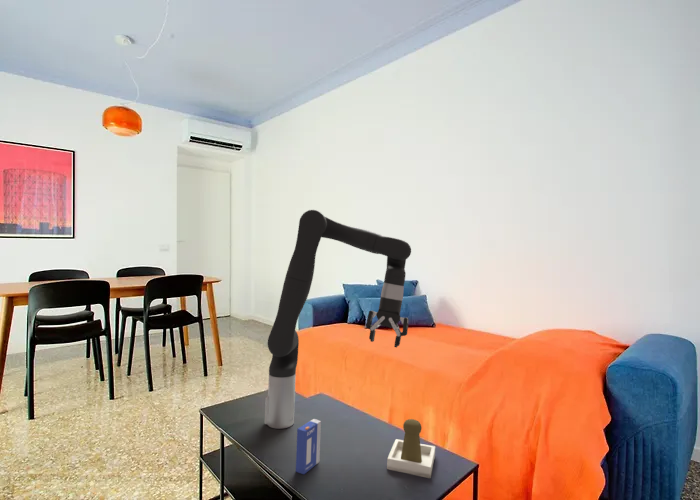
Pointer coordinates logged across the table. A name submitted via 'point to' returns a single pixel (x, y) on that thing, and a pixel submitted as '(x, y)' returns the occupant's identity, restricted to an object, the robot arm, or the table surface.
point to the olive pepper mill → (411, 441)
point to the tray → (408, 466)
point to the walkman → (308, 446)
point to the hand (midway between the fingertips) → (383, 344)
